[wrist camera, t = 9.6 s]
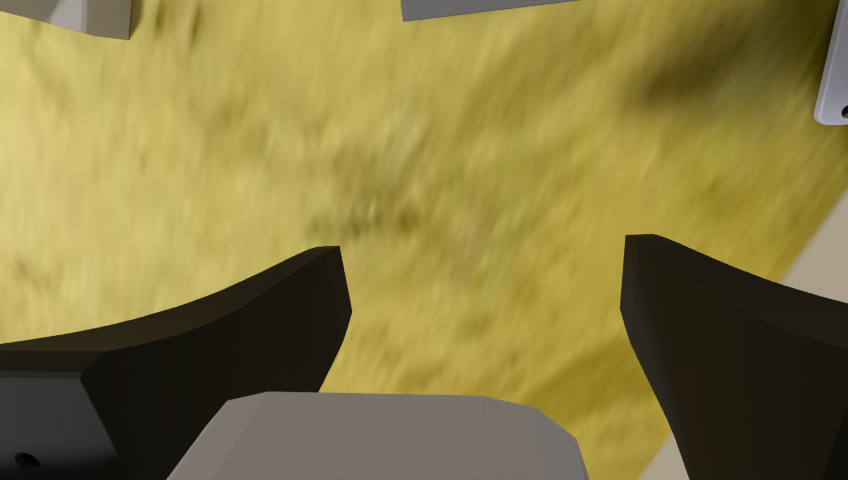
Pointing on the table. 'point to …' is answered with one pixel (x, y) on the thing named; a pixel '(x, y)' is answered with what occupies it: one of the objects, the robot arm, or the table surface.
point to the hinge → (77, 15)
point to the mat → (461, 7)
